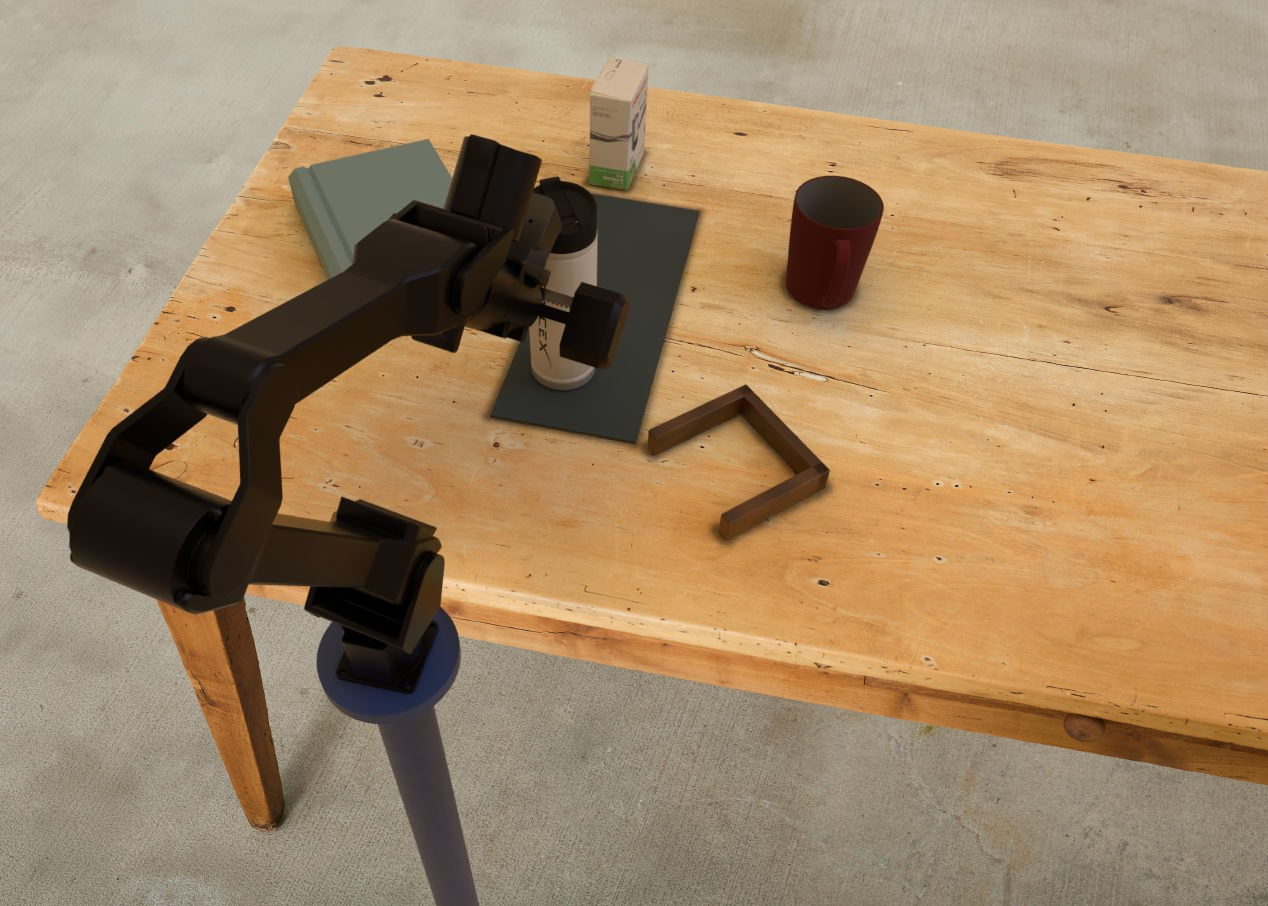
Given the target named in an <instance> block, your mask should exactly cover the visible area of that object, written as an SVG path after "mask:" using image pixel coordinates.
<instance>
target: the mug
mask: <svg viewBox="0 0 1268 906" xmlns="http://www.w3.org/2000/svg"><path fill="white" fill-rule="evenodd" d="M793 198H794V199H793V205H792V212H791V220H790V228H789V229H790V230H789V240H788V249H787V250H788V251H787V262H786V276H785V287H786V290H787V292H788V293H789V295H790V297H792V298H793V299H794V300H795V301H797V302H798V303H800V304H802V305H804V306H805V307H806V306H807V307H809V308H812V309H818V310H833V309H838V308H841V307H844V306H845V305H847V304H848V303H849V302H850V301H852V299H853V297H854V295H855V293H856V290H857V288H858V286H859V282H860V280H861V277H862V274H863V273H864V269H865V266H866V264H867V262H868V259H869V256H870V255H871V254H870V253H871V250H872V247H873V246H874V242H875V240H876V237H877V235H878V231H879V229H880V225H881V222H882V218H883V215H884V210H885V205H884V200H883V199H882V197H881V195H880V194H879V193H878V192H877V191H876V190H875V189H874V188H872V186H869V185H868V184H866V183H864V182H863V181H860V180H858V179H855V178H851V177H847V176H843V175H822V176H821V175H820V176H815V177H813V178H810V179H808V180H805V181H804V182H803V183H801V184H800V185H799V186H798V187H797V189H796V191H795V193H794V197H793Z"/></svg>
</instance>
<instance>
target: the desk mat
mask: <svg viewBox="0 0 1268 906" xmlns="http://www.w3.org/2000/svg"><path fill="white" fill-rule="evenodd" d="M591 194H592V195H593V197H594V198H595V200H596V203H597V233H598V236H597V286H598V287H601V288H604V289H608V290H611V291H614V292H618V293H621V294H623V295H625V296H626V297H627V298H628V300H629V302H630V304H631V305H630V308H629V312H628V315H627V318H626V322H625V325H624V328H623V331H622V335H621V338H620V341H619V345H618V348H617V351H616V355H615V358H614V361H613V365H612V366H610V367H608V368H606V369H604V370H603V369H597V368H595V373H594V375H593V377H592V378H591V379H590V380H589V382H587V383H586V384H585V385H583V386H581V387H579V388H576V389H573V390H554V389H550V388H548V387H546V386H543V385H542V384H541V383H539V382H538V381H537V380H536V379H535V377H534V376H533V373H532V370H531V350H530V330H529V328H528V332H527V335H526V339H525V342H519V343H518V345H517V348H516V351H515V352H514V356H513V357H512V361H511V362H510V365H509V368H508V370H507V372H506V375H505V378H504V379H503V383H502V385H501V387H500V390H499V393H498V395H497V397H496V400H495V402H494V405H493V408H492V410H491V412H490V414H489V416H490V417H489V418H491V419H497V420H498V419H499V420H503V421H508V422H509V421H510V422H513V423H514V422H515V423H521V424H526V425H531V426H535V427H542V428H547V429H553V430H557V431H563V432H568V433H574V434H579V435H585V436H590V437H595V438H602V439H607V440H612V441H618V442H624V443H627V444H628V443H629V444H635V445H636V444H637V441H638V437H639V433H640V430H641V426H642V423H643V418H644V415H645V411H646V409H647V404H648V401H649V397H650V393H651V390H652V387H653V382H654V380H655V375H656V372H657V368H658V364H659V361H660V358H661V354H662V350H663V346H664V343H665V339H666V336H667V331H668V328H669V324H670V320H671V318H672V313H673V310H674V306H675V302H676V300H677V295H678V293H679V289H680V285H681V282H682V278H683V273H684V270H685V266H686V263H687V259H688V256H689V252H690V249H691V245H692V242H693V241H692V240H693V238H694V234H695V230H696V227H697V223H698V219H699V216H700V210H696V209H691V208H684V207H679V206H678V207H677V206H673V205H667V204H659V203H654V202H653V203H652V202H648V201H647V202H646V201H642V200H641V201H640V200H634V199H628V198H623V197H616V196H615V197H614V196H611V195H605V194H604V195H603V194H596V193H591Z"/></svg>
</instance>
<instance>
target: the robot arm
mask: <svg viewBox="0 0 1268 906" xmlns="http://www.w3.org/2000/svg"><path fill="white" fill-rule="evenodd" d="M542 163H543V159H542V158H540V157H539V156H538V155H535V154H532V153H528V152H525V151H522V150H519V149H515V148H513V147H509V146H507V145H504V144H501V143H500V142H498V141H497V140H494V139H491V138H487V137H484V136H480V135H477V134H474V133H471V134H470V135H469V136H468V135H465V136H464V137H463V138H462V142H461V146H460V150H459V153H458V157H457V160H456V162H455V166H454V171H453V174H452V176H451V177H452V180H451V184H450V187H449V191H448V194H447V198H446V201H445V205H444V208H440V207H437V206H433V205H430V204H426V203H423V202H420V201H416V200H413V201H411V202H410V203H409V204H408V205H407V206H405V207H404V208H403V209H402V210H400V211H399V212H398V213H397V214H396V213H394V214H393V215H392V216H391V217H390V218H389V219H388V220H386V221H385V222H383V223H382V224H380V225H379V226H378V227H377V228H375V229H374V230H373V231H372V232H370V233H369V234H368V235H366V236H365V237H364V238H363V239H361V240H360V241H359V242H358V243H356V244H355V246H354V255H353V264H352V265H351V266H350V267H348V268H347V269H346V270H345V271H344V272H342V273H340V274H338V275H336V276H334V277H332V278H330V279H328V278H327V280H324V281H323V282H320V283H318V284H317V285H315V286H313V287H311V288H310V289H307V290H306V291H304V292H302V293H300V294H298V295H296V296H295V297H293V298H290V299H288V300H286V301H285V302H283V303H280V304H279V305H277V306H275V307H274V308H272V309H270V310H268V311H266V312H264V313H262V314H260V315H258V316H257V317H254V318H253V319H251V320H249V321H247V322H245V323H243V324H242V325H240V326H237V327H236V328H234V329H232V330H230V331H228V332H226V333H225V334H221V335H215V336H211V337H208V336H202V337H199V338H196V339H195V340H194V341H193V342H191V343H190V344H188V345H187V346H186V348H185V350H184V351H183V352H182V354H181V355H180V357H179V358H178V361H177V363H176V365H175V367H174V368H173V370H172V373H171V375H170V376H169V378H168V380H167V382H166V384H165V386H164V387H163V388H162V389H161V390H160V391H159V392H157V393H156V394H155V395H153V396H152V397H150V398H149V399H148V400H147V401H146V402H144V403H143V404H142V405H140V406H139V407H138V408H137V409H136V410H134V411H132V413H130V414H128V416H126V417H125V418H123V419H122V420H121V421H119V422H118V423H117V424H116V425H115V426H113V427H112V428H111V429H110V430H109V431H108V432H107V434H106V435H105V438H104V440H103V441H102V444H101V445H100V448H99V449H98V451H97V453H96V454H95V457H94V459H93V461H92V462H91V465H90V467H89V469H88V470H87V472H86V474H85V476H84V478H83V480H82V482H81V484H80V486H79V488H78V489H77V492H76V494H75V496H74V498H73V499H72V502H71V504H70V507H69V510H68V511H67V512H68V513H67V522H66V528H67V531H68V533H69V535H68V536H69V537H68V539H69V540H68V547H69V550H70V553H69V560H70V562H71V563H72V564H73V565H74V566H76V567H78V568H80V569H83V570H85V571H87V572H90V573H92V574H95V575H97V576H99V577H102V578H104V579H107V580H109V581H111V582H114V583H116V584H118V585H121V586H123V587H126V588H128V589H130V590H133V591H136V592H138V593H140V594H142V595H145V596H147V597H149V598H151V599H155V600H157V601H159V602H162V603H164V604H167V605H169V606H172V607H173V608H176V609H178V610H181V611H183V612H186V613H188V614H192V615H200V614H206V613H210V612H212V611H216V610H219V609H223V608H228V607H231V606H235V605H237V604H239V603H241V602H243V601H244V598H245V595H246V593H247V590H248V587H249V586H250V585H251V586H253V585H254V586H279V587H281V586H284V587H309V588H308V592H307V596H306V600H305V603H304V606H303V607H304V608H303V610H304V611H305V612H307V613H308V614H310V615H312V616H313V617H316V618H322V619H323V620H326V621H329V622H330V623H331V622H334V623H336V624H339V625H341V628H342V631H343V634H344V635H343V638H342V642H343V645H344V648H345V651H344V653H343V656H342V658H341V660H340V662H339V665H338V667H337V669H336V672H335V673H336V676H337V678H338V679H340V680H343V681H348V682H353V683H357V684H362V685H367V686H371V687H376V688H381V689H386V690H390V691H395V692H400V693H404V694H412V693H414V692H415V690H416V688H417V685H418V683H419V680H420V677H421V675H422V672H423V670H424V667H425V664H426V662H427V659H428V656H429V654H430V651H431V648H432V646H433V643H434V641H435V638H436V635H437V633H438V630H439V626H438V623H437V622H435V621H432V619H433V618H434V616H435V615H436V613H437V611H438V610H439V608H440V607H442V605H441V604H442V596H443V595H442V594H443V585H444V577H445V576H444V575H445V566H446V565H445V564H446V562H445V561H446V560H445V557H444V555H442V554H440V553H439V552H440V551H441V550H442V547H443V545H442V543H441V540H440V538H438V537H437V536H435V533H436V532H437V529H438V528H437V526H434V525H432V524H429V523H425V522H424V521H420V520H418V519H415V518H414V517H413V518H412V517H410V516H407V515H404V514H402V513H399V512H396V511H393V510H391V509H388V508H386V507H382V506H380V505H378V504H375V503H372V502H369V501H367V500H364V499H361V498H359V499H357V500H353V499H351V498H347V497H346V496H340V498H339V503H338V506H337V509H336V511H334V512H332V514H331V517H330V520H329V521H328V520H321V519H316V518H315V519H314V518H309V517H304V516H303V517H302V516H296V515H290V514H283V513H279V511H280V509H281V507H282V503H283V498H284V494H283V477H282V476H283V475H282V459H281V437H282V434H283V432H284V431H285V429H286V426H287V424H288V422H289V421H290V418H291V416H292V413H293V412H294V410H295V406H296V405H297V404H299V403H300V402H301V401H303V400H305V399H306V398H307V397H309V396H311V395H312V394H313V393H315V392H316V391H318V390H319V389H321V388H322V387H324V386H326V385H327V384H328V383H330V382H332V381H333V380H334V379H336V378H337V377H339V376H340V375H342V374H344V373H345V372H347V371H348V370H350V369H351V368H352V367H354V366H356V365H357V364H358V363H360V362H361V361H363V360H364V359H366V358H367V357H369V356H370V355H372V354H373V353H375V352H377V351H379V349H381V348H382V347H384V346H386V345H387V344H389V343H390V342H391V341H394V340H396V339H399V338H402V337H410V338H411V340H413V341H415V342H418V343H421V344H424V345H428V346H429V347H430V346H431V347H432V348H436V349H439V350H443V351H445V352H448V353H452V354H456V353H458V350H459V348H460V345H461V342H462V341H461V340H462V338H463V334H464V331H465V328H468V329H472V330H475V331H479V332H482V333H485V334H487V335H488V334H489V335H491V336H495V337H497V338H501V339H504V340H505V339H506V340H507V339H510V340H514V341H516V342H519V343H520V342H525V339H526V335H527V332H528V328H529V327H531V326H532V325H533V324H534V322H535V321H536V320H537V318H538V316H540V317H543V318H546V319H550V320H553V321H556V322H559V323H563V324H565V328H564V331H563V334H562V338H561V341H560V345H559V351H560V357H563V358H566V359H569V360H572V361H575V362H578V363H582V364H585V365H588V366H591V367H594V368H597V369H603V370H604V369H606V368H608V367H610V366H612V365H613V361H614V358H615V355H616V351H617V348H618V345H619V341H620V338H621V335H622V331H623V328H624V325H625V322H626V318H627V315H628V312H629V308H630V305H631V304H630V302H629V300H628V298H627V297H626V296H625V295H623V294H621V293H618V292H614V291H611V290H608V289H604V288H601V287H598V286H594V285H591V284H588V283H584V282H581V284H580V285H579V287H578V288H577V290H576V291H575V294H574V297H572V296H568V295H565V294H562V293H558V292H555V291H552V290H548V289H545V288H542V287H541V286H544V287H546V286H547V284H548V281H549V277H550V274H551V271H549V270H546V269H544V268H545V265H546V262H547V259H548V257H549V254H550V252H551V250H552V247H553V245H554V243H555V241H556V238H557V236H558V235H559V234H560V231H561V229H562V223H561V220H560V218H559V215H558V212H557V209H556V207H555V204H554V202H553V200H552V199H551V198H549V197H547V196H543V195H540V194H536V193H533V190H534V188H535V187H536V184H537V180H538V177H539V173H540V170H541V167H542ZM546 299H547V302H548V303H549V302H550V301H551V304H554V303H555V302H556V305H559V304H560V306H561V307H563V306H564V304H565V308H568V306H569V309H570V311H569V312H567V311H564V310H560V309H557V308H554V307H550V306H547V305H544V304H542V301H544V302H545V300H546ZM207 416H212V417H214V418H217V419H221V420H223V421H226V422H229V423H231V424H234V425H236V426H237V435H238V436H237V438H238V439H237V441H238V462H239V463H238V464H239V485H238V487H237V489H236V491H235V493H234V496H233V497H232V500H231V499H228V498H226V497H223V496H220V495H218V494H216V493H213V492H210V491H208V490H205V489H202V488H200V487H197V486H194V485H192V484H190V483H187V482H184V481H182V480H179V479H176V478H174V477H171V476H169V475H167V474H163V473H161V472H158V471H156V470H154V469H151V466H152V464H153V463H154V460H155V458H156V457H157V456H158V455H160V453H162V452H163V451H165V449H167V448H168V447H170V445H172V444H173V443H174V442H176V441H177V440H179V439H180V438H181V437H182V436H184V435H185V434H186V433H187V432H188V431H190V430H191V429H192V428H194V427H195V426H196V425H198V424H199V423H200V422H201V421H203V420H204V419H205V418H206V417H207ZM431 626H434V627H435V628H434V629H430V627H431ZM342 671H344V672H345V673H344V674H343V675H340V673H341V672H342ZM407 686H412V688H411V689H407Z"/></svg>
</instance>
